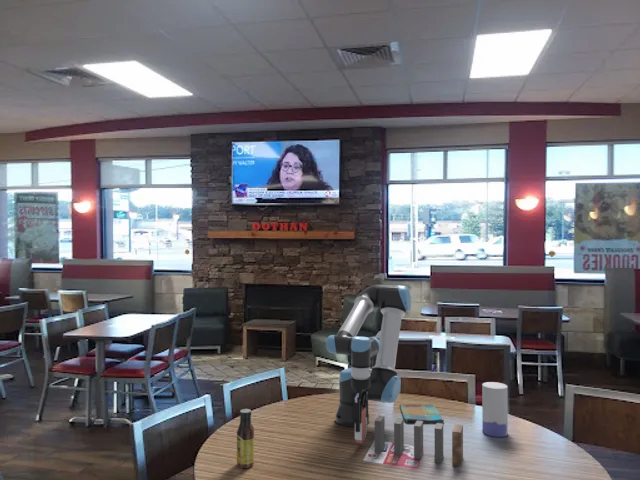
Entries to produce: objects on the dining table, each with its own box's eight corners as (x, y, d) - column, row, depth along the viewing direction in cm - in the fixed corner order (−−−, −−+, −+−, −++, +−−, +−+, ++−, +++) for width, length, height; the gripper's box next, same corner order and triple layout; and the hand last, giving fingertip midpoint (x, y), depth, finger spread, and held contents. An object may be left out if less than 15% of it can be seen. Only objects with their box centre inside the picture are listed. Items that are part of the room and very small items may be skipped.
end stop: (452, 465, 182) (452, 431, 182) (454, 456, 189) (454, 424, 189) (460, 466, 181) (460, 432, 181) (462, 457, 188) (462, 425, 188)
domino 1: (374, 452, 193) (374, 420, 193) (378, 446, 199) (378, 415, 199) (380, 453, 192) (380, 421, 192) (384, 447, 198) (384, 416, 198)
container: (507, 429, 216) (507, 382, 216) (507, 438, 206) (507, 389, 206) (482, 427, 219) (482, 380, 219) (482, 435, 209) (482, 387, 209)
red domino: (365, 437, 200) (365, 407, 200) (361, 443, 195) (361, 411, 195) (360, 436, 201) (360, 406, 201) (355, 442, 195) (355, 411, 196)
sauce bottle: (237, 461, 185) (237, 407, 185) (254, 461, 185) (254, 406, 185) (235, 469, 178) (235, 413, 178) (253, 469, 179) (253, 412, 179)
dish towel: (405, 424, 223) (405, 419, 223) (398, 407, 247) (398, 402, 247) (444, 425, 223) (444, 419, 223) (434, 407, 246) (434, 402, 246)
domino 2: (394, 455, 190) (394, 423, 190) (397, 448, 196) (397, 417, 196) (400, 456, 189) (400, 423, 189) (403, 449, 195) (403, 418, 195)
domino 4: (434, 461, 185) (434, 428, 185) (436, 454, 191) (436, 422, 191) (441, 462, 184) (441, 429, 184) (443, 455, 190) (443, 423, 190)
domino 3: (414, 458, 188) (413, 425, 188) (416, 451, 193) (416, 420, 193) (420, 459, 187) (420, 426, 187) (423, 452, 192) (423, 421, 192)
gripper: (363, 384, 188) (363, 446, 188) (376, 372, 206) (376, 429, 205) (344, 382, 191) (344, 444, 190) (358, 370, 208) (358, 427, 208)
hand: (360, 436), depth 198 cm, fingers closed on red domino, 6 cm apart
